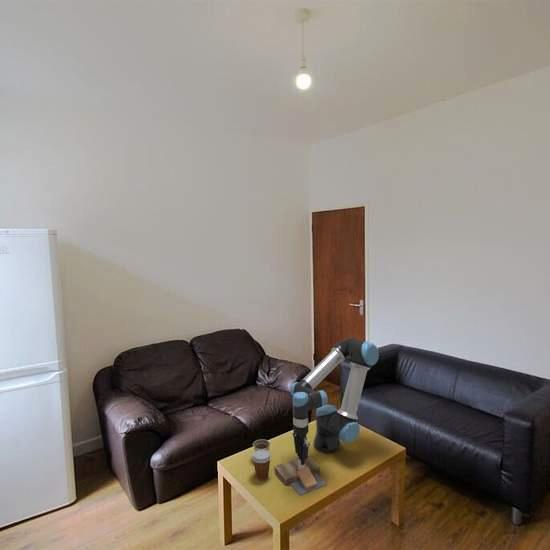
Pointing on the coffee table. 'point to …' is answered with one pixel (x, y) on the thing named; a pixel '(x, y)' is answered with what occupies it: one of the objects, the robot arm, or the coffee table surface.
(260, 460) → the disposable coffee cup
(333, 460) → the coffee table surface
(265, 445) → the clear plastic cup
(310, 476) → the orange brown flat block
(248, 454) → the coffee table surface
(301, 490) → the mat
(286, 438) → the coffee table surface
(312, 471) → the brown flat slab
